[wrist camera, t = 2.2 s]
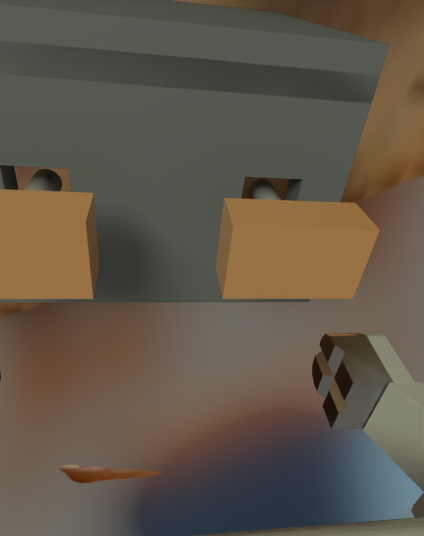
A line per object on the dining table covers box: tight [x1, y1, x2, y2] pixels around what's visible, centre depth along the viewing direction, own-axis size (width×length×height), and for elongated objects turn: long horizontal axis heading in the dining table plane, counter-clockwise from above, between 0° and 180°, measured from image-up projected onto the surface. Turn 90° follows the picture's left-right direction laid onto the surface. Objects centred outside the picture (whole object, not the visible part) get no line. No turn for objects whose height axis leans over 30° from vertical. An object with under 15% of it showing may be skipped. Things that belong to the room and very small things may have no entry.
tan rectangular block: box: [216, 179, 380, 299], centre depth 16 cm, size 3×5×6 cm, turn 84°
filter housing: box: [0, 0, 389, 302], centre depth 23 cm, size 12×16×16 cm
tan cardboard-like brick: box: [0, 169, 99, 299], centre depth 15 cm, size 3×5×6 cm, turn 84°
